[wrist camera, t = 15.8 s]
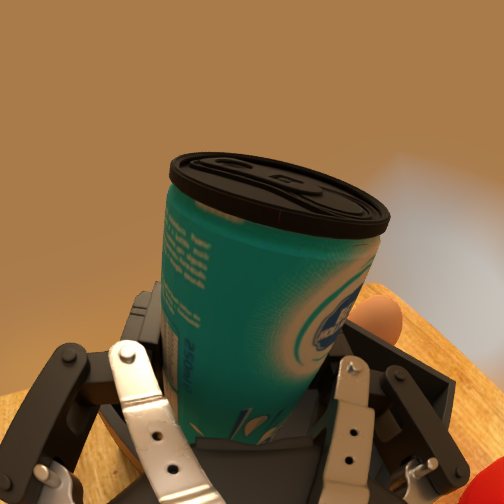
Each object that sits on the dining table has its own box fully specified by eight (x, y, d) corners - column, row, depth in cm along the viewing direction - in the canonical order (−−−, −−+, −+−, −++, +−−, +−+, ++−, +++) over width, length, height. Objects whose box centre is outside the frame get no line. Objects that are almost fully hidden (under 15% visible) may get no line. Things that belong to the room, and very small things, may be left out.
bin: (118, 446, 16) (86, 389, 12) (260, 349, 31) (283, 280, 26) (299, 585, 7) (369, 599, 2) (398, 435, 21) (456, 381, 17)
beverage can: (218, 493, 10) (344, 251, 3) (148, 425, 13) (129, 153, 6) (283, 434, 15) (406, 207, 8) (217, 381, 18) (265, 153, 11)
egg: (329, 331, 36) (353, 281, 32) (369, 328, 38) (394, 282, 34) (350, 372, 30) (383, 321, 26) (392, 363, 31) (424, 317, 27)
